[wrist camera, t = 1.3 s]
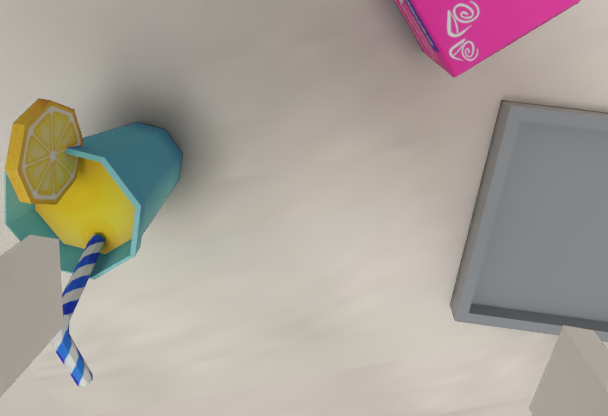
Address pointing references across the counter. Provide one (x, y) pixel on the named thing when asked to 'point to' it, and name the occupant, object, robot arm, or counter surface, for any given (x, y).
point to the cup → (85, 197)
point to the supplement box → (474, 26)
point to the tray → (539, 225)
